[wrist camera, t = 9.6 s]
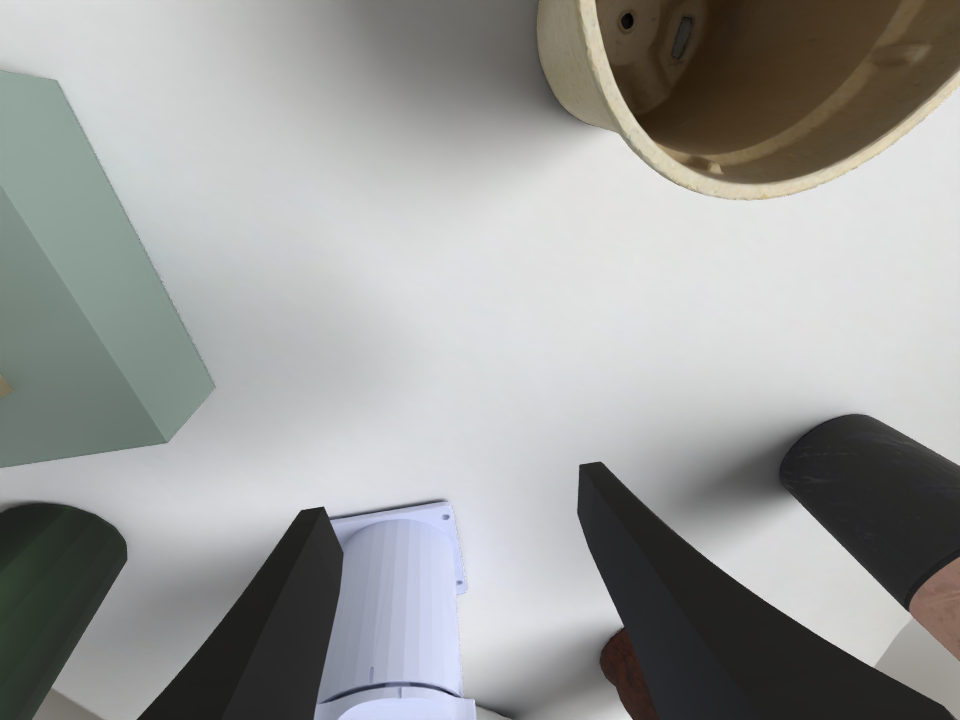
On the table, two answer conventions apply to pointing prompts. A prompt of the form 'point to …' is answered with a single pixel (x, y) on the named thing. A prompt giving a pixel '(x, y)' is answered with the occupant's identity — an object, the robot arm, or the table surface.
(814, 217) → the table surface
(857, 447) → the travel mug
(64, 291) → the sage green square pedestal
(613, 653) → the lantern
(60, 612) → the potion bottle
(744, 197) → the flower pot
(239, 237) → the table surface
